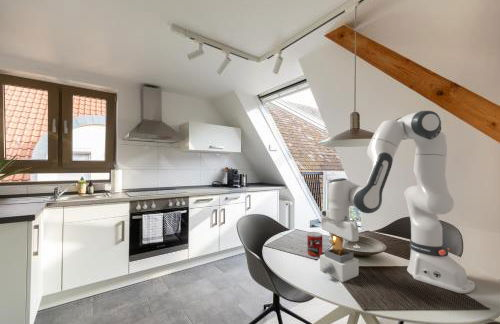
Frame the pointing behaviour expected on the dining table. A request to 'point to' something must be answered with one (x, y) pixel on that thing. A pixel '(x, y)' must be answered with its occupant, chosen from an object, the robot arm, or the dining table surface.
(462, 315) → the dining table surface
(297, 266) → the dining table surface
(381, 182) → the robot arm
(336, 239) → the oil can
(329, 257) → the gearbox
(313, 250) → the canned food
